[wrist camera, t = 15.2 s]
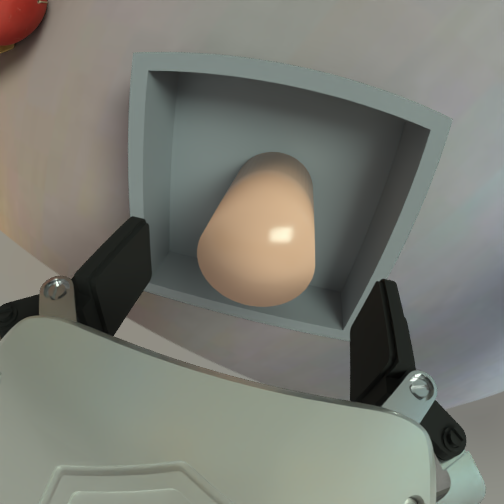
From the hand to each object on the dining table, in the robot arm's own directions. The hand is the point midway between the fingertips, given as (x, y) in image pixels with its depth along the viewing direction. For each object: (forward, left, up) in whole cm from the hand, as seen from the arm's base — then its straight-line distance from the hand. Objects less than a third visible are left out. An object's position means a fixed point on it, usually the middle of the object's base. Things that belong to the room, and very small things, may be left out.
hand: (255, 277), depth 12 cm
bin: (0, 0, -10) cm, 10 cm away
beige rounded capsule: (0, 0, -9) cm, 9 cm away
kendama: (+29, -13, -10) cm, 34 cm away
